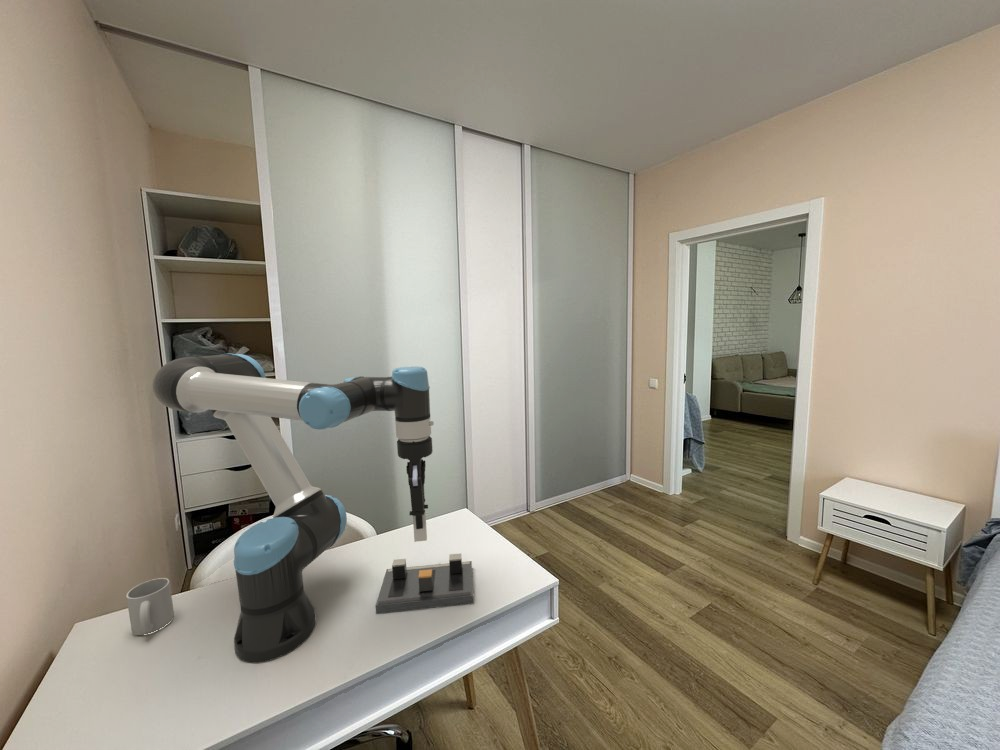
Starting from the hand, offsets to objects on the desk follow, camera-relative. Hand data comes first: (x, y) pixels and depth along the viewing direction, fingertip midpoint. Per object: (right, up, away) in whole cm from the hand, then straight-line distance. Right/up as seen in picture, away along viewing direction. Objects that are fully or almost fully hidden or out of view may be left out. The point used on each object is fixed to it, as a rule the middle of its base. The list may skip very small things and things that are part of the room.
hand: (420, 539), depth 90 cm
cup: (-59, -19, -2) cm, 62 cm away
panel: (0, -16, +8) cm, 17 cm away
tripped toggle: (0, -14, +5) cm, 14 cm away
